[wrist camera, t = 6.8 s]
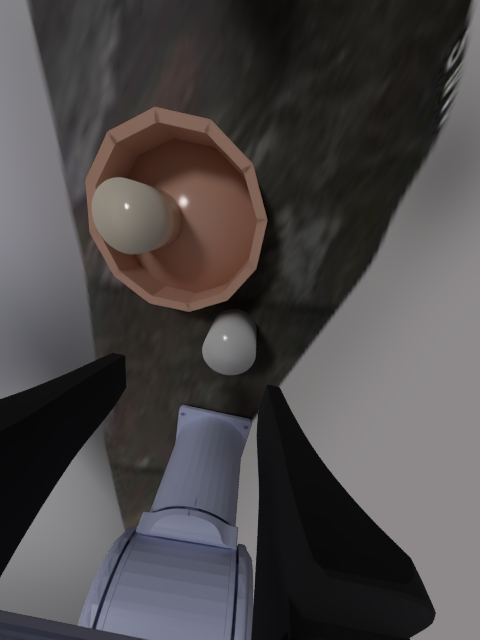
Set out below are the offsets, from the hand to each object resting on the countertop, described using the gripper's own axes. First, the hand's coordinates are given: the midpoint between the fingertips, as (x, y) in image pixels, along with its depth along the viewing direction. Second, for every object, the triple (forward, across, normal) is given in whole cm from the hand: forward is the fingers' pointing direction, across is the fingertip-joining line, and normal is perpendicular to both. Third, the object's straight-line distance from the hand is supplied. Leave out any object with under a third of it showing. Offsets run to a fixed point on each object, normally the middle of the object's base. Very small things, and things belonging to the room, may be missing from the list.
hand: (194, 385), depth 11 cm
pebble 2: (+9, -1, +1) cm, 9 cm away
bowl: (+9, +4, -7) cm, 12 cm away
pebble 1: (+9, +6, -7) cm, 13 cm away
